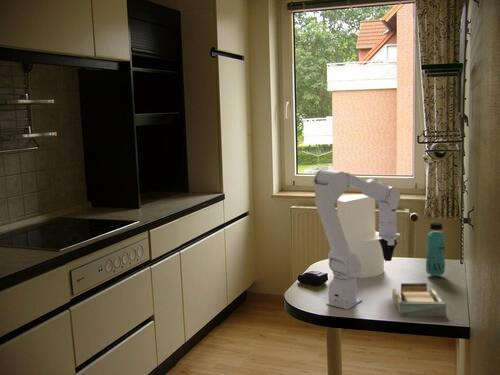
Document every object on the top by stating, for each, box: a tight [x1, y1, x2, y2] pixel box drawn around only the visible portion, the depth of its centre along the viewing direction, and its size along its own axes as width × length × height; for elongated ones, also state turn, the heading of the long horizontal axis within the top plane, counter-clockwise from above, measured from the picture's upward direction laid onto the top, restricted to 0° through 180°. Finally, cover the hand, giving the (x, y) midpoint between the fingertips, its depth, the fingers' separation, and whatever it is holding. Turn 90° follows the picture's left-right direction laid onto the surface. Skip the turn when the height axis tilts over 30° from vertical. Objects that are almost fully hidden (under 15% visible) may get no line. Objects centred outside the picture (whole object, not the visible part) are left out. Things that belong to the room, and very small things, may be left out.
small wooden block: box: [400, 282, 435, 302], centre depth 168 cm, size 12×8×5 cm, turn 175°
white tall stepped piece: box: [336, 194, 385, 279], centre depth 203 cm, size 17×17×28 cm
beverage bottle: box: [425, 221, 446, 276], centre depth 193 cm, size 6×7×20 cm
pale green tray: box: [392, 288, 447, 317], centre depth 167 cm, size 16×13×4 cm
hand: (387, 260), depth 181 cm, fingers closed
